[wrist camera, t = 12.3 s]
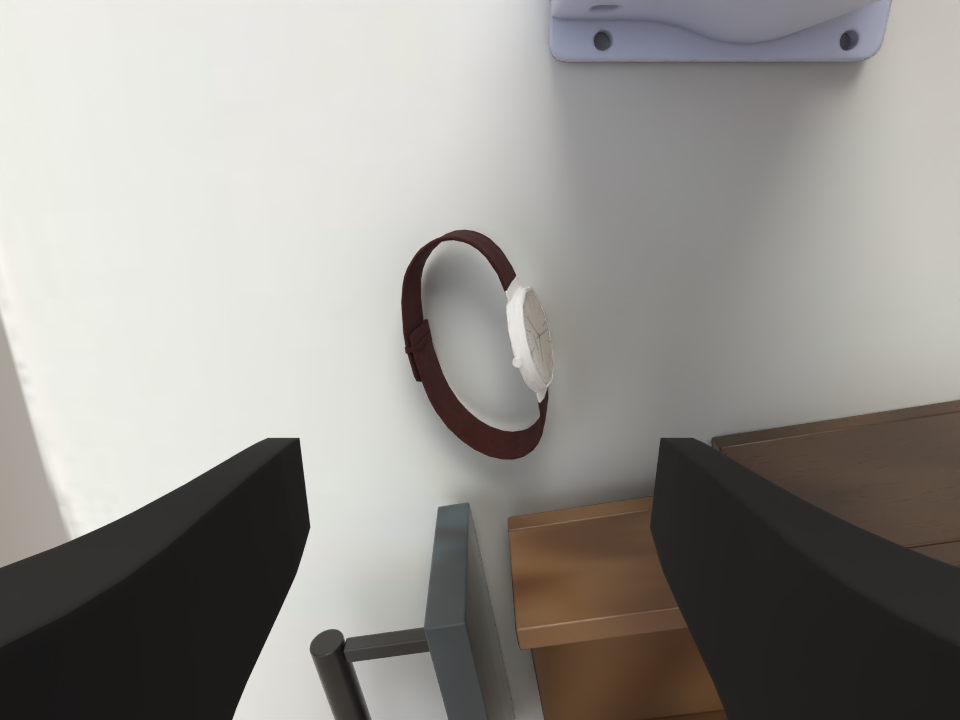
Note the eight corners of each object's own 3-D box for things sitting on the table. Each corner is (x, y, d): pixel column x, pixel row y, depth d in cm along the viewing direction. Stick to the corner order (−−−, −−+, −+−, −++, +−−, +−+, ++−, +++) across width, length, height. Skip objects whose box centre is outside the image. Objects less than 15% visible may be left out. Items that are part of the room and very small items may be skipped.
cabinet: (722, 700, 26) (813, 909, 19) (711, 437, 21) (827, 581, 14) (1034, 660, 25) (1254, 863, 18) (1093, 378, 20) (1422, 500, 13)
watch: (572, 412, 21) (590, 463, 18) (451, 446, 21) (445, 502, 18) (513, 205, 18) (521, 218, 15) (377, 250, 19) (354, 271, 15)
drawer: (381, 752, 26) (355, 913, 20) (305, 526, 22) (246, 652, 16) (777, 703, 25) (860, 859, 19) (778, 454, 21) (886, 565, 15)
